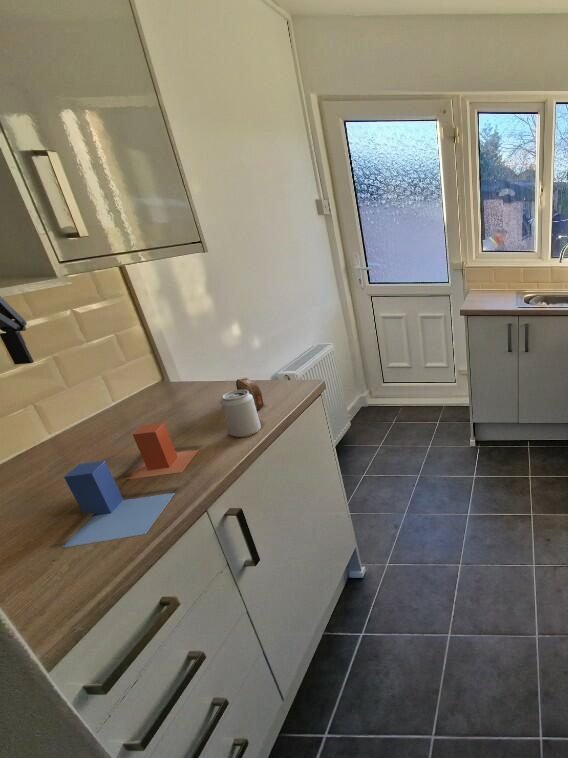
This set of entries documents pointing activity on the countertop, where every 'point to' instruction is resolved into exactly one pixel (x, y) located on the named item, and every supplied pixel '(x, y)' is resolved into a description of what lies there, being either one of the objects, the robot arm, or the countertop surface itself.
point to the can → (240, 413)
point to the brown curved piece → (251, 391)
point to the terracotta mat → (174, 468)
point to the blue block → (94, 488)
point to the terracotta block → (155, 446)
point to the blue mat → (122, 521)
